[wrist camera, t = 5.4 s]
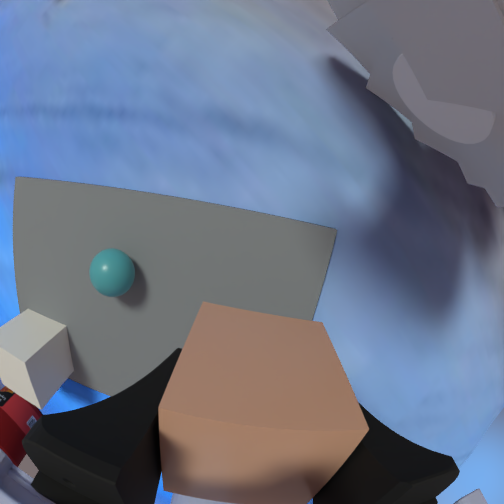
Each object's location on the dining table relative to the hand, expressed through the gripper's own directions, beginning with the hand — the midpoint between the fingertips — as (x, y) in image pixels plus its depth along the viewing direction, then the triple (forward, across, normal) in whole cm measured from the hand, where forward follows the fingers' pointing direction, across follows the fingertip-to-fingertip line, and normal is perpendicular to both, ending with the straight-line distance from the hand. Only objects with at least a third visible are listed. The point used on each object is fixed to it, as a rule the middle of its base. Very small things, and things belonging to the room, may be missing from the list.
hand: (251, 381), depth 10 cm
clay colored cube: (+1, 0, 0) cm, 1 cm away
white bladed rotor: (+8, -10, -23) cm, 26 cm away
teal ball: (+6, +9, -1) cm, 11 cm away
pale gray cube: (+7, +17, +8) cm, 20 cm away
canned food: (+8, +27, +24) cm, 37 cm away
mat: (+8, +8, +3) cm, 12 cm away
